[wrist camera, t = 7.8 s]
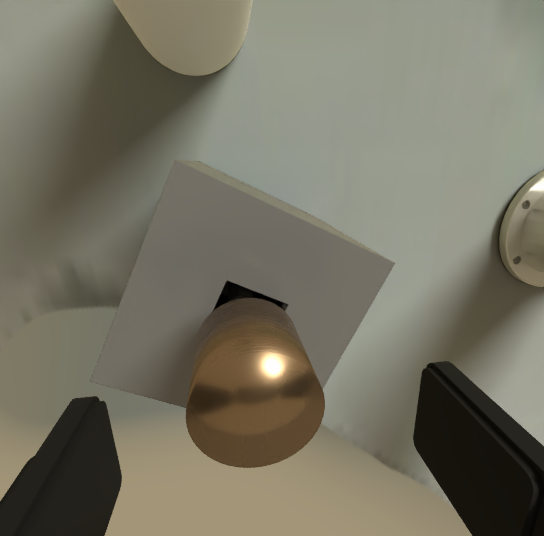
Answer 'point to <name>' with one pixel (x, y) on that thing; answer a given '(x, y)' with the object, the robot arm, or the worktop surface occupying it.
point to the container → (189, 31)
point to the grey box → (232, 280)
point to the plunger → (251, 384)
